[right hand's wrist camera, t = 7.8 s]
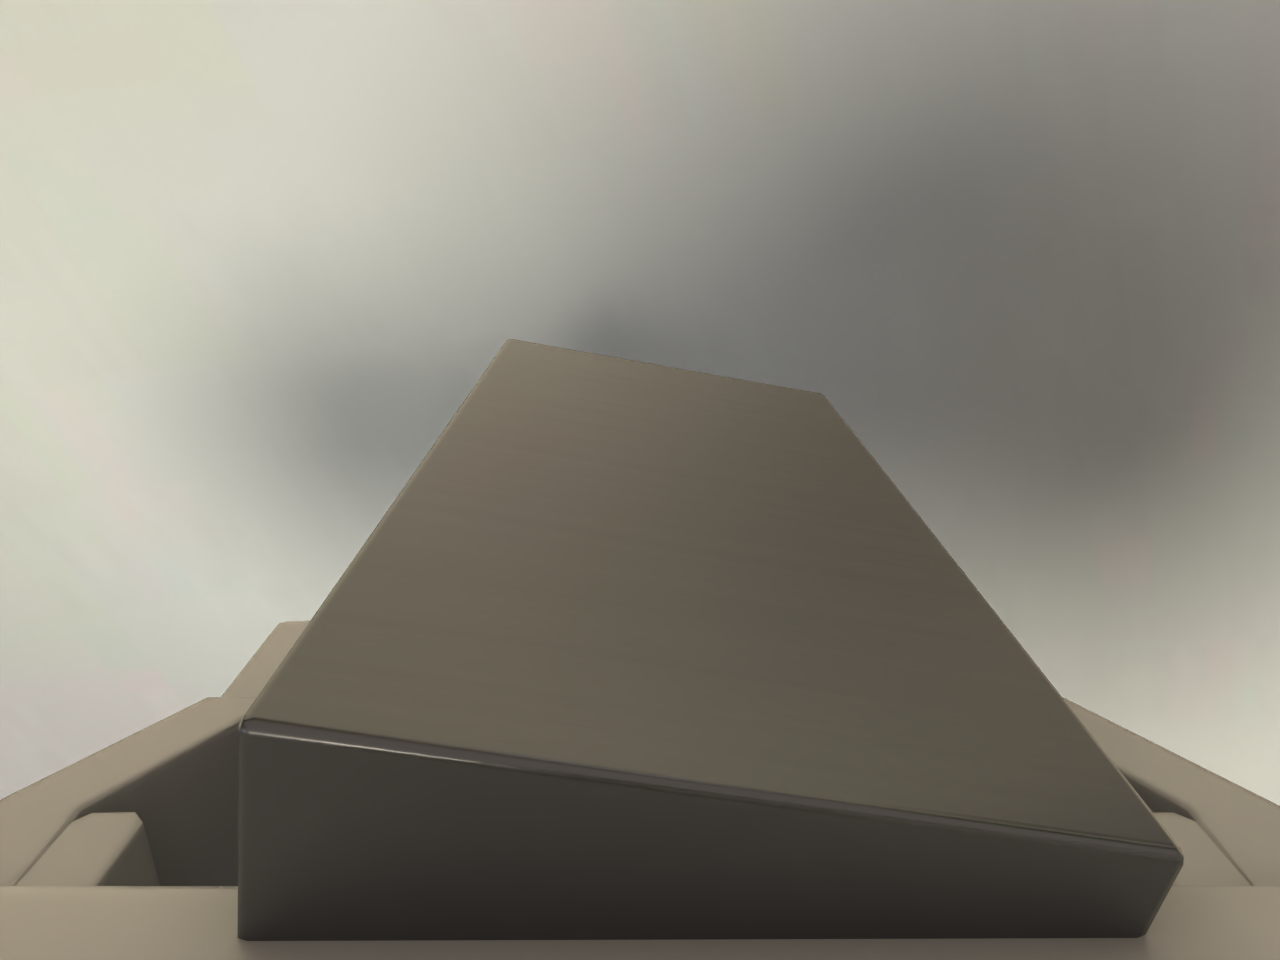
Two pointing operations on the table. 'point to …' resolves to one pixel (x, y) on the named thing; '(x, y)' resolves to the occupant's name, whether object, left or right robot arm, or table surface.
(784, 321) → the table surface
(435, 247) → the table surface
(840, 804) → the bar
